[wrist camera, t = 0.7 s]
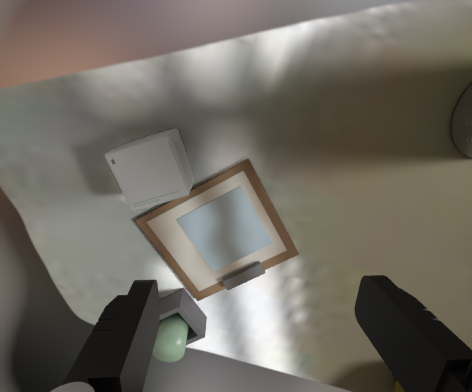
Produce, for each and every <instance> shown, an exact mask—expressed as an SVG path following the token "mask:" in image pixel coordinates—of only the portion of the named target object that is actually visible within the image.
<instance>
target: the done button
mask: <svg viewBox="0 0 472 392" xmlns="http://www.w3.org/2000/svg"><path fill="white" fill-rule="evenodd" d="M188 328H189V324H188V323H187V322H186V321H185V320H184V318H183V317H182V316H181V315H180V314H179V312H177V313H175V314H173V315H170V316H168V317H166V318H164V319H162V320H160V322H159V328H158V333H157V337H156V340H155V344H154V348H153V352H152V354H153V355H154V357H155V358H157V359H159V360H160V361H164V362H174V361H177V360H179V359H181V358H182V357H183V355H184V352H185V346H186V340H187V334H188Z"/></svg>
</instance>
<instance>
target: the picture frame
mask: <svg viewBox="0 0 472 392" xmlns="http://www.w3.org/2000/svg"><path fill="white" fill-rule="evenodd" d="M136 222H137V224H138V225H139V226H140V228H141V229H142V230H143V231H144V233H145V234H146V235H147V237H148V238H149V239H150V240H151V242H152V243H153V244H154V246H155V247H156V248H157V249H158V251H159V252H160V253H161V255H162V256H163V257H164V258H165V260H166V261H167V262H168V264H169V265H170V266H171V267H172V269H173V270H174V271H175V273H176V274H177V275H178V276H179V278H180V279H181V280H182V282H183V283H184V284H185V285H186V287H187V288H188V289H189V291H190V292H191V293H192V294H193V296H194V297H195V298H196V300H197V301H199V300H201V299H203V298H206V297H208V296H210V295H212V294H214V293H216V292H219V291H221V290H223V289H225V288H227V289H228V290H230V289H232V288H234V287H236V286H238V285H241V284H243V283H245V282H247V281H249V280H251V279H254V278H256V277H258V276H260V275H262V274H264V273H265V270H266V269H268V268H270V267H273V266H275V265H277V264H279V263H281V262H283V261H286V260H288V259H290V258H292V257H294V256H296V255H299V254H298V252H297V250H296V248H295V246H294V244H293V242H292V240H291V238H290V237H289V235H288V233H287V231H286V229H285V227H284V225H283V223H282V221H281V220H280V218H279V216H278V214H277V212H276V210H275V208H274V206H273V204H272V203H271V201H270V199H269V197H268V195H267V193H266V191H265V189H264V187H263V186H262V184H261V182H260V180H259V178H258V176H257V174H256V172H255V170H254V169H253V167H252V165H251V163H250V161H249V159H247V160H245V161H243V162H242V163H240V164H238V165H236V166H234V167H232V168H230V169H229V170H227V171H225V172H223V173H221V174H219V175H217V176H216V177H214V178H212V179H210V180H208V181H206V182H204V183H203V184H201V185H199V186H197V187H195V188H193V189H191V190H190V193H189V195H188V196H185V197H182V198H178V199H175V200H171V201H169V202H167V203H165V204H163V205H162V206H160V207H158V208H156V209H154V210H152V211H150V212H149V213H147V214H145V215H143V216H141V217H139V218H137V219H136Z"/></svg>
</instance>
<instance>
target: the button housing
mask: <svg viewBox="0 0 472 392" xmlns="http://www.w3.org/2000/svg"><path fill="white" fill-rule="evenodd" d="M159 311H160V319H159V322H160V320H162V319H164V318H166V317H168V316H170V315H173V314H175V313H177V312H179V314H180V315H181V316H182V317H183V318H184V320H185V321H186V322H187V323H188V324H189V328H188V334H187V340H186V345H188V344H190V343H192V342H195V341H197V340H199V339H202V338H204V337H205V330H206V319H207V317H206V316H205V314H204V313H203V312H202V311H201V309H200V308H199V307H198V305H197V304H196V303H195V302H194V300H193V299H192V298H191V297H190V295H189V294H188V293H187V291H186V290H185V289H184V288H183V289H181V290H179V291H176V292H174V293H172V294H170V295H168V296H166V297H164V298H162V299H160V300H159Z"/></svg>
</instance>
